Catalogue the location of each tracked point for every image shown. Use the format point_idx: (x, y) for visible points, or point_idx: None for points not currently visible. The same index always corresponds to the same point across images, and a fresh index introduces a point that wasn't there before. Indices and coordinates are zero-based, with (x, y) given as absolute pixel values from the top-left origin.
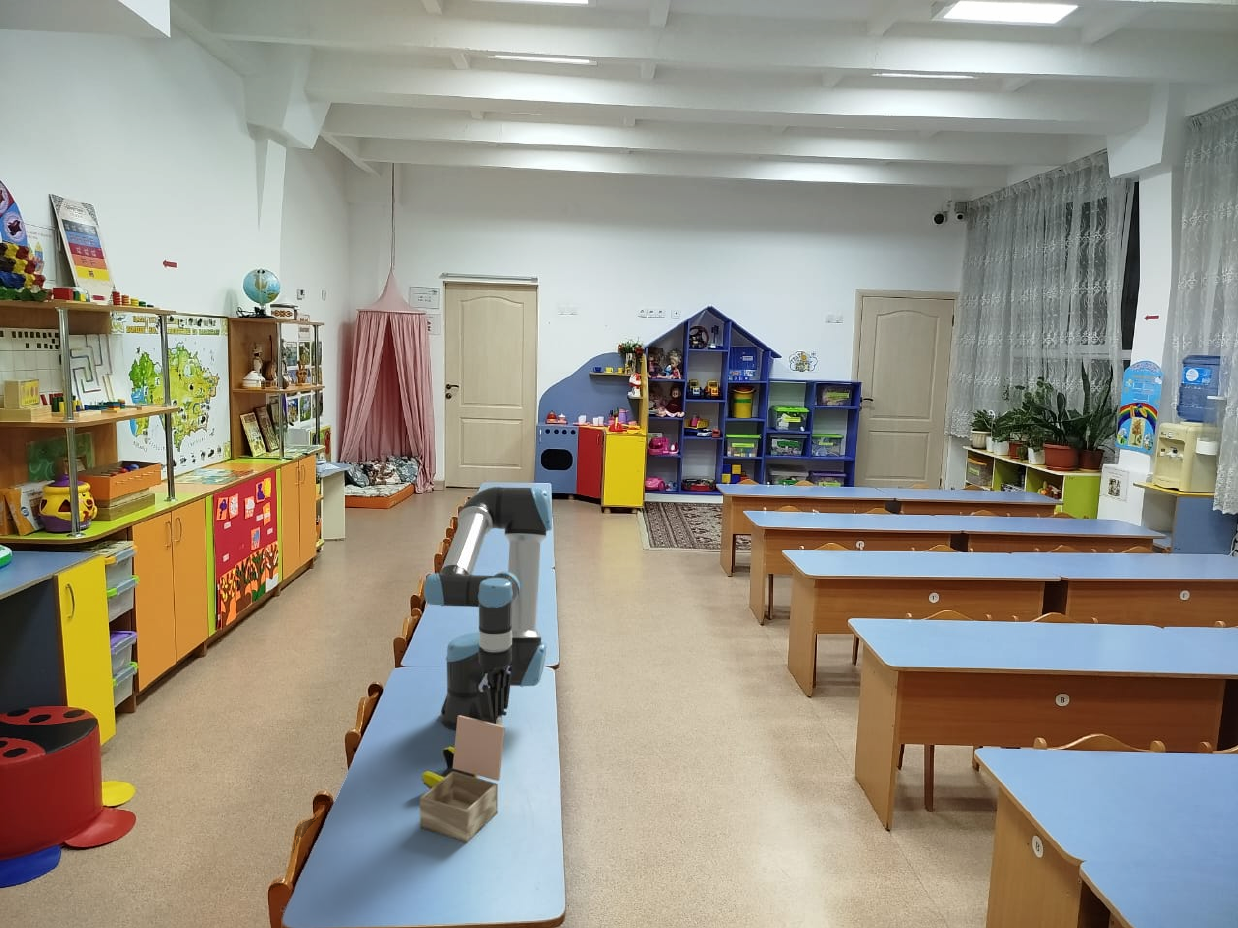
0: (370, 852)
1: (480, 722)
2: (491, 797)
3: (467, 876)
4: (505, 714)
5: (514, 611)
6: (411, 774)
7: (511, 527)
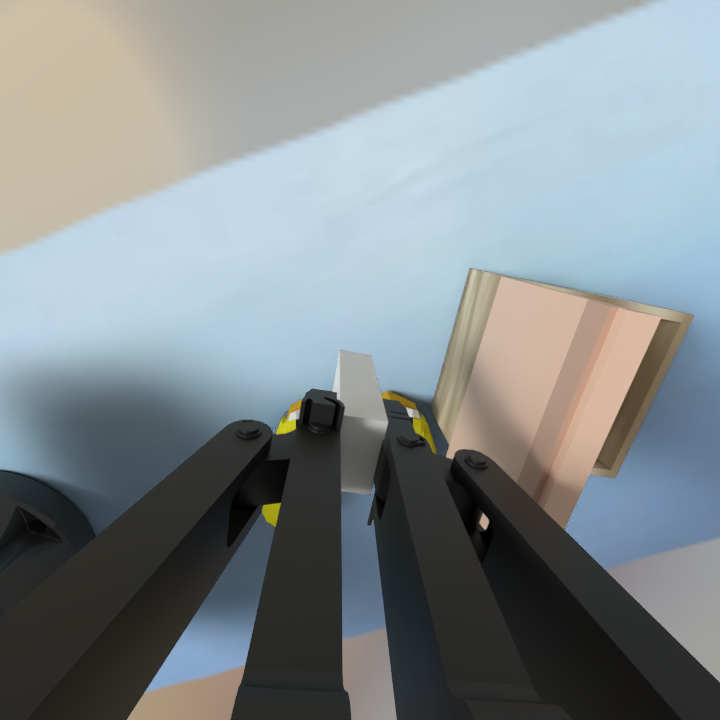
0: (652, 480)
1: (571, 507)
2: (535, 282)
3: None
4: (321, 396)
5: None
6: (347, 540)
7: None
